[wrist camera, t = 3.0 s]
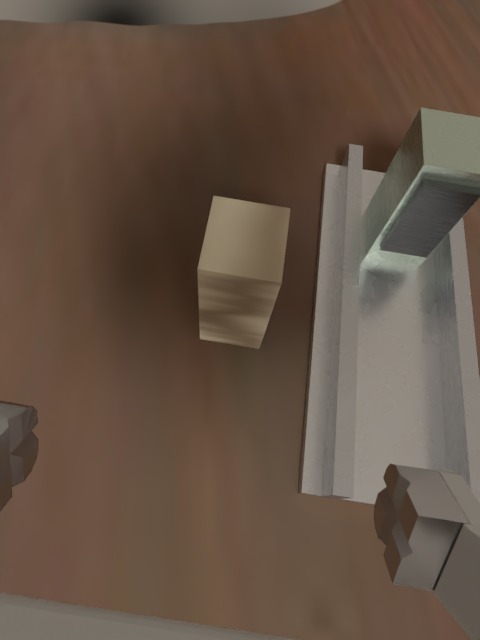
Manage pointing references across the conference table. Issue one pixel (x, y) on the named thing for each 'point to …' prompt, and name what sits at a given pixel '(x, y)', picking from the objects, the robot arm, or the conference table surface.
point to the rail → (394, 317)
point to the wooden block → (240, 270)
